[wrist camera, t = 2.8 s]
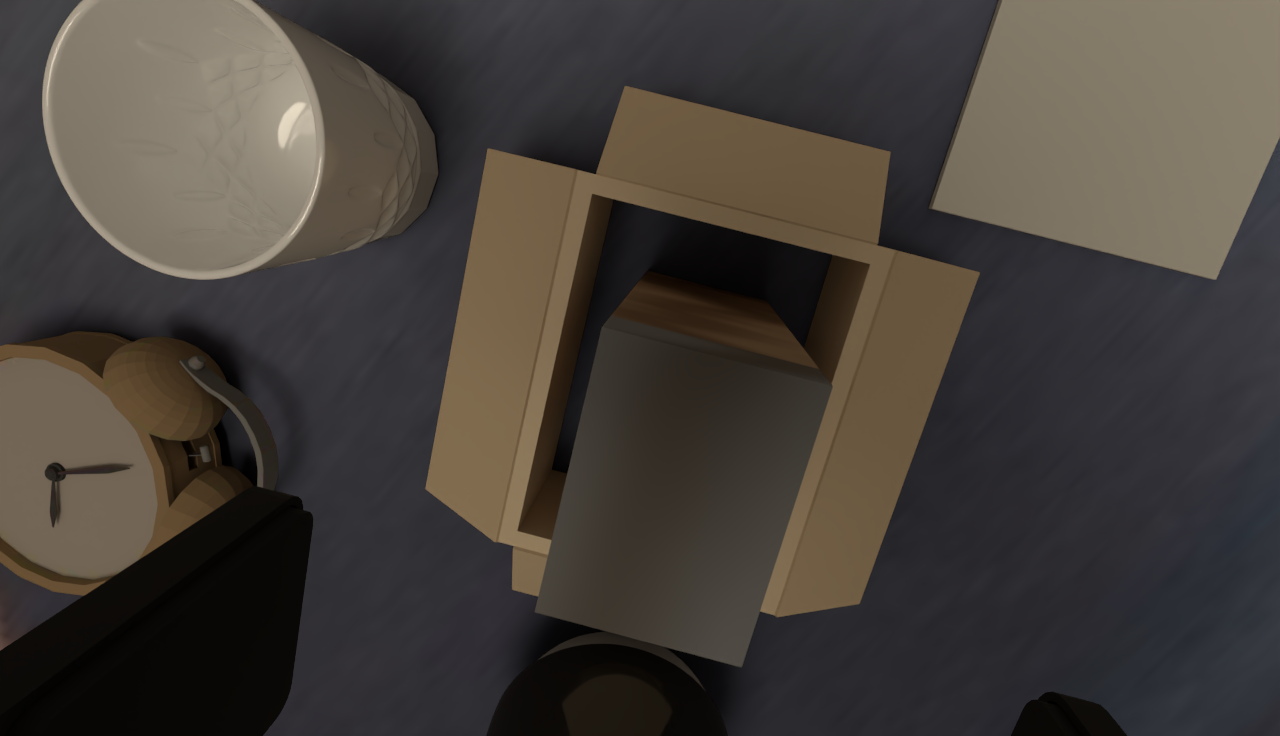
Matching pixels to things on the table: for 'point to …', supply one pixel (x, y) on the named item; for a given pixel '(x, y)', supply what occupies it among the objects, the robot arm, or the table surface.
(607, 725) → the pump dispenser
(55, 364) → the alarm clock
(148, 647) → the robot arm
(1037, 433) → the table surface
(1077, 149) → the mat
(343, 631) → the table surface
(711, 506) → the walnut box
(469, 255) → the carton
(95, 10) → the white cup
